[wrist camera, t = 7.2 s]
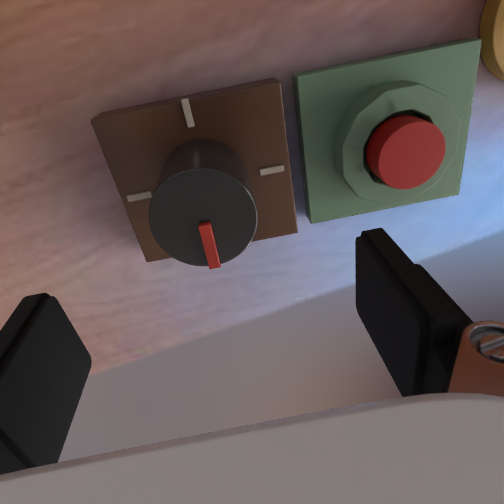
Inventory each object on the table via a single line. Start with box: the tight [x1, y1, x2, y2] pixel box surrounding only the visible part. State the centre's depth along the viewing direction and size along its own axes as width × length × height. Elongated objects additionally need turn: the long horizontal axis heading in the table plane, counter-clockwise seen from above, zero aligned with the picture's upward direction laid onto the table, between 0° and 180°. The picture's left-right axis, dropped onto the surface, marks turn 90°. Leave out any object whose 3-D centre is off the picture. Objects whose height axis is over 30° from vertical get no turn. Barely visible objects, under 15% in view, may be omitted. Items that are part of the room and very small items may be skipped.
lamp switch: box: [366, 115, 446, 189], centre depth 19 cm, size 4×4×2 cm
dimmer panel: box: [91, 78, 298, 262], centre depth 21 cm, size 10×9×2 cm
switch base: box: [293, 39, 482, 224], centre depth 21 cm, size 10×9×3 cm
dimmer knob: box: [148, 139, 258, 269], centre depth 18 cm, size 5×5×5 cm
